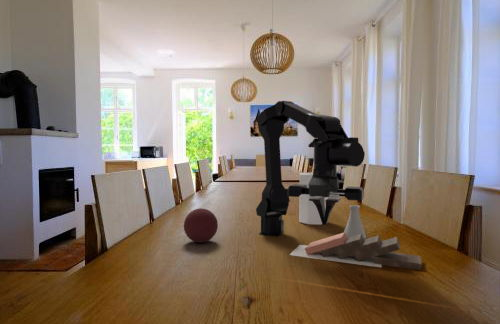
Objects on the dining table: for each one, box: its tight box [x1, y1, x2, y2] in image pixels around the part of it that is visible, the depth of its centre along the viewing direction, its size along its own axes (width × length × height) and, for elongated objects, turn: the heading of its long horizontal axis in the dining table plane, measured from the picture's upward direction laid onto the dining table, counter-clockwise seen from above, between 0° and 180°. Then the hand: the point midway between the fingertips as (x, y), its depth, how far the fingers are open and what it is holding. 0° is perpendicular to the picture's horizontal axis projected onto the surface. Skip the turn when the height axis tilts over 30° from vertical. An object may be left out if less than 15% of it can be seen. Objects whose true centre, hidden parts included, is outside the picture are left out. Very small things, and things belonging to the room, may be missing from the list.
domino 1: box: [305, 231, 347, 255], centre depth 86 cm, size 2×6×10 cm
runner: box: [289, 244, 383, 268], centre depth 85 cm, size 22×10×1 cm, turn 66°
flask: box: [343, 204, 368, 240], centre depth 103 cm, size 7×7×10 cm
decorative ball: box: [183, 207, 219, 244], centre depth 98 cm, size 10×10×10 cm
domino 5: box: [374, 251, 422, 271], centre depth 79 cm, size 2×6×10 cm
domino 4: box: [355, 236, 400, 261], centre depth 80 cm, size 2×6×10 cm
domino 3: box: [338, 235, 382, 259], centre depth 82 cm, size 2×6×10 cm
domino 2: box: [321, 234, 365, 257], centre depth 84 cm, size 2×6×10 cm
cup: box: [298, 172, 328, 226], centre depth 125 cm, size 11×11×18 cm
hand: (324, 225), depth 85 cm, fingers closed
